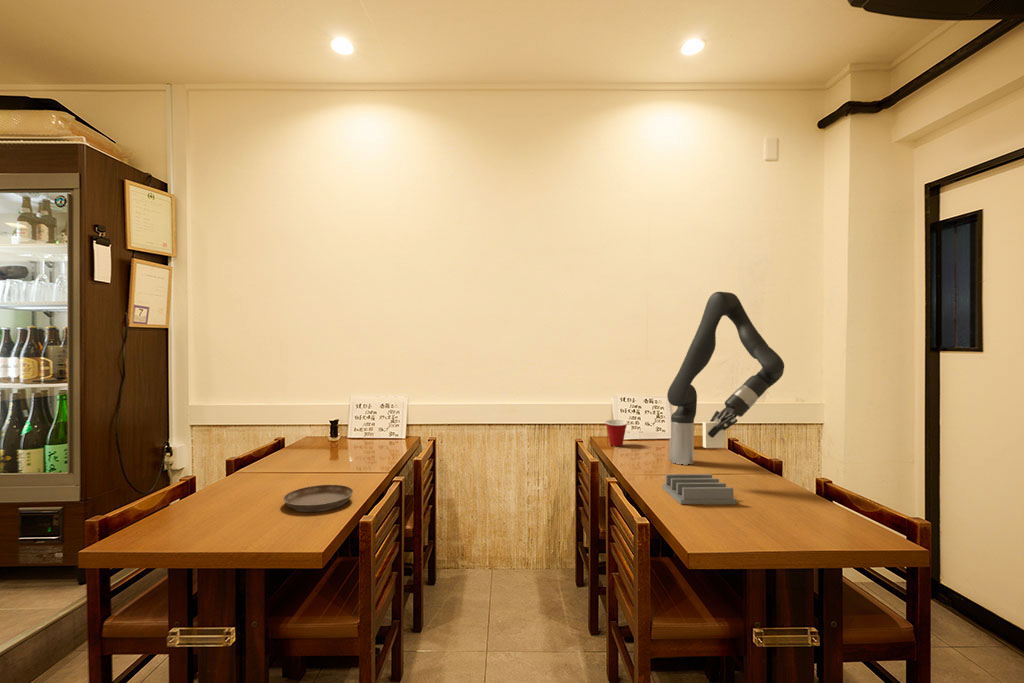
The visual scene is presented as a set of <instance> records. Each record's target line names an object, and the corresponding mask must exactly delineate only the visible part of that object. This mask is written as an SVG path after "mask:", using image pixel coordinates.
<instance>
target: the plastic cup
mask: <svg viewBox="0 0 1024 683" xmlns="http://www.w3.org/2000/svg"><path fill="white" fill-rule="evenodd" d="M628 424H629V423H628V421H626V420H624V419H608V420H607V419H606V420H605V425H606V428H607V434H608V435H607V436H608V440H609V445H610V444H611V445H614V446H622V447H623V444H624V439H625V434H626V428H627V426H628Z"/></svg>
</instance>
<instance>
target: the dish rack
mask: <svg viewBox="0 0 1024 683" xmlns="http://www.w3.org/2000/svg"><path fill="white" fill-rule="evenodd" d="M662 490H664V491H665V492H666V491H667V492H668V493H669V494H670V495H671V496H670V495H669V494H668V493H667V492H666V493H667V494H668V495H669V496H670V497H671V498H673V499H674V500H675V501H676V502H677V501H678V502H679V503H678V502H677V503H678V504H679V505H681V504H703V505H737V504H738V499H736V498H735V497H734V488H733V487H731V486H730V487H729V486H727V484H726V483H725V482H720V479H719V478H718V477H713V474H711V473H695V474H694V473H686V474H685V473H680V474H679V473H675V474H674V473H673V474H672V473H671V474H669V473H668V474H665V483H662Z"/></svg>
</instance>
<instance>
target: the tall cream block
mask: <svg viewBox="0 0 1024 683" xmlns="http://www.w3.org/2000/svg"><path fill="white" fill-rule="evenodd" d="M717 423H718V422H710V421H702V448H705V449H725V448H726V430H722V431H719V432H718V433H717V434H716V435H715V436H714V437H713V438H712V437H710V436H709V435H708V432H709V431H710V430H711V429H712V428H713V427H714V426H715V425H716V424H717ZM715 427H716V426H715Z"/></svg>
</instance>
